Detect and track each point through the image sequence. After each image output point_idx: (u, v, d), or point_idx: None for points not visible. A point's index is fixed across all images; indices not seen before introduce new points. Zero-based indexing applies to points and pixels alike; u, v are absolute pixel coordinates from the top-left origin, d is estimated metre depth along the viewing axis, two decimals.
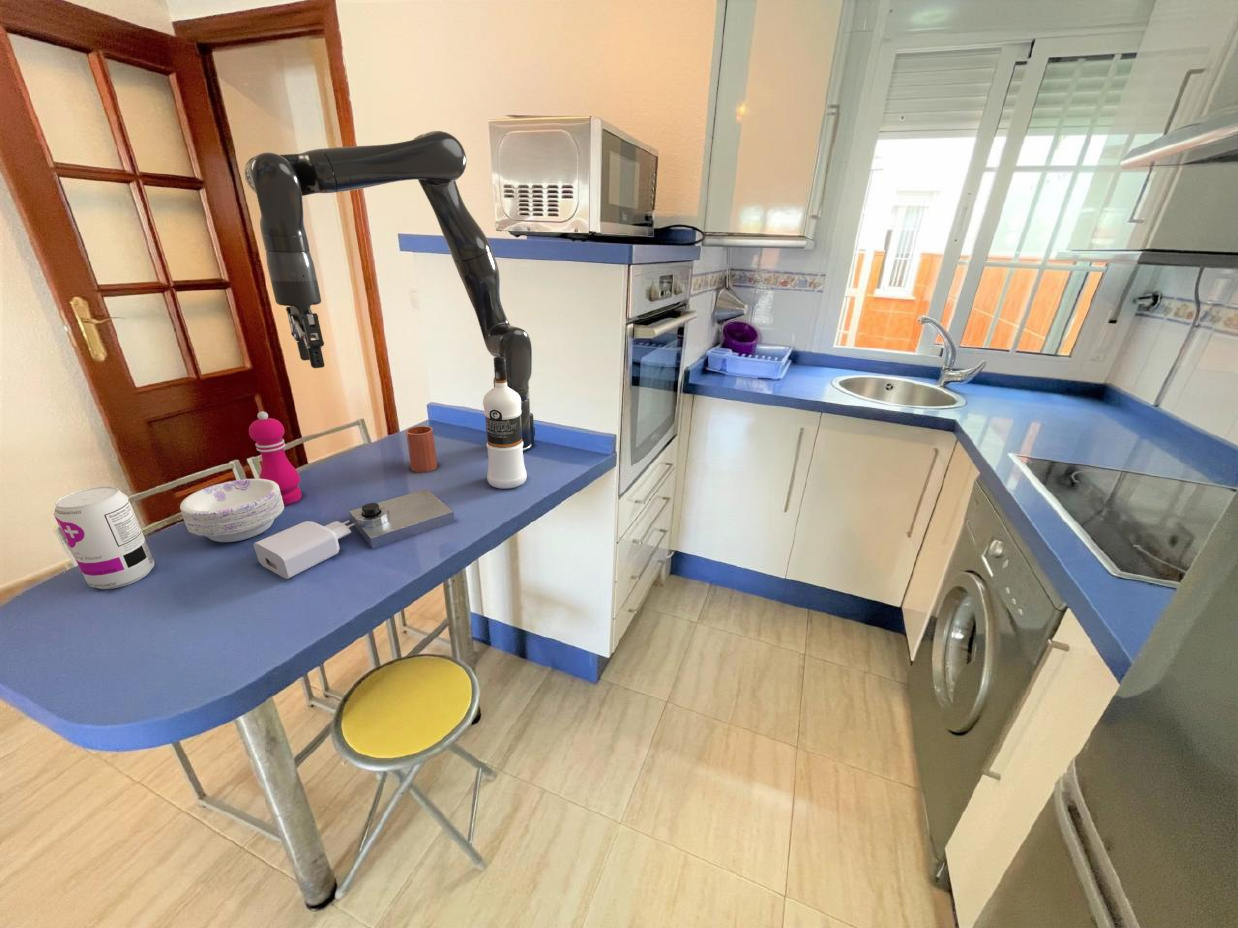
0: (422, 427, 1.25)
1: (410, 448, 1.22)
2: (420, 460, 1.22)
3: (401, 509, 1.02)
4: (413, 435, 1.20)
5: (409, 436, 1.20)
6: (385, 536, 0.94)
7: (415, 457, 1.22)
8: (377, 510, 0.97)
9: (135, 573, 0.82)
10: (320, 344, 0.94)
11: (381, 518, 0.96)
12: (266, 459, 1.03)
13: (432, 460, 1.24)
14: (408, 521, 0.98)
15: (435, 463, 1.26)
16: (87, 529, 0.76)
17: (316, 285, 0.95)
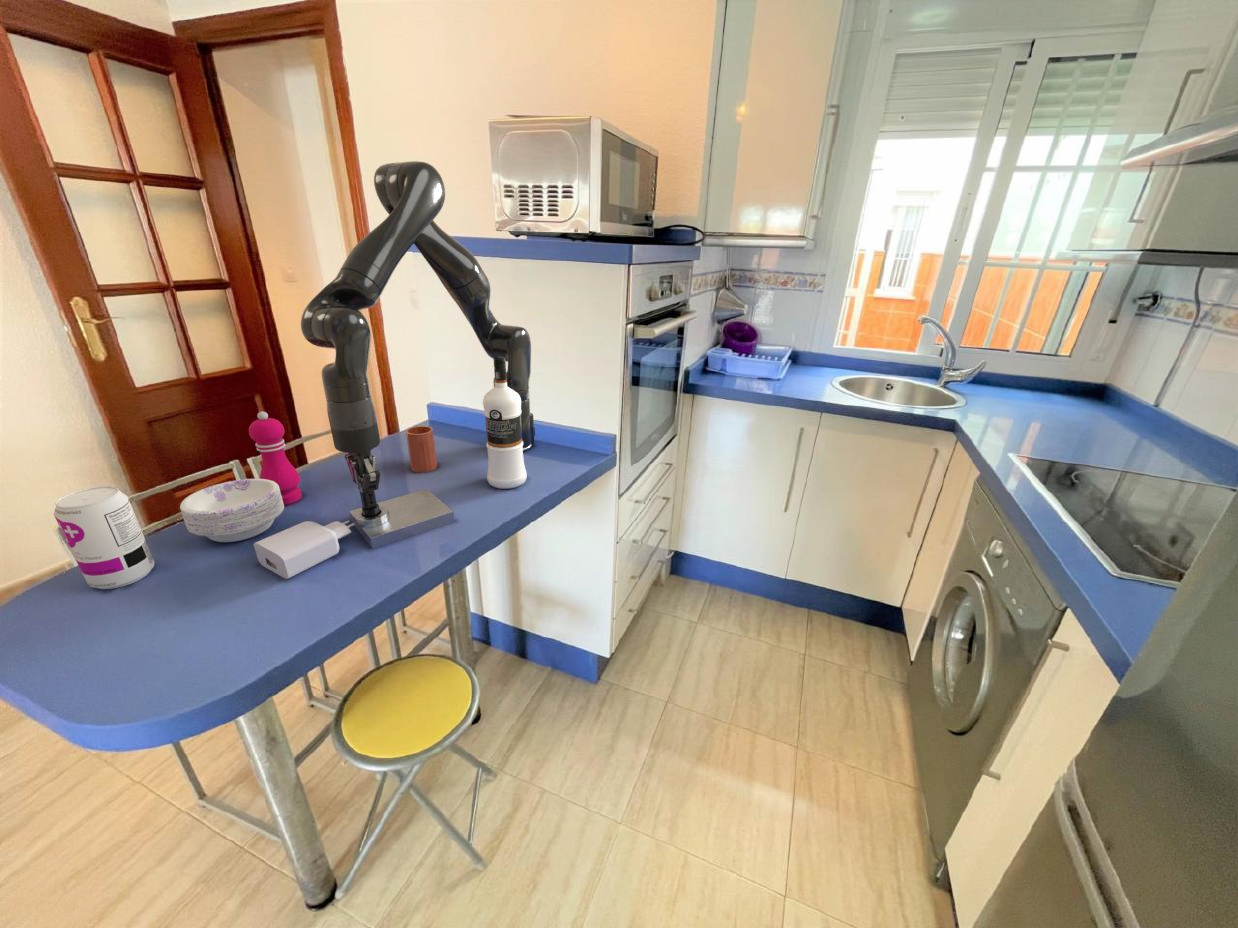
0: (422, 427, 1.25)
1: (410, 448, 1.22)
2: (420, 460, 1.22)
3: (401, 509, 1.02)
4: (413, 435, 1.20)
5: (409, 436, 1.20)
6: (385, 536, 0.94)
7: (415, 457, 1.22)
8: (377, 510, 0.97)
9: (135, 573, 0.82)
10: (374, 489, 0.93)
11: (381, 518, 0.96)
12: (266, 459, 1.03)
13: (432, 460, 1.24)
14: (408, 521, 0.98)
15: (435, 463, 1.26)
16: (87, 529, 0.76)
17: (376, 428, 0.91)
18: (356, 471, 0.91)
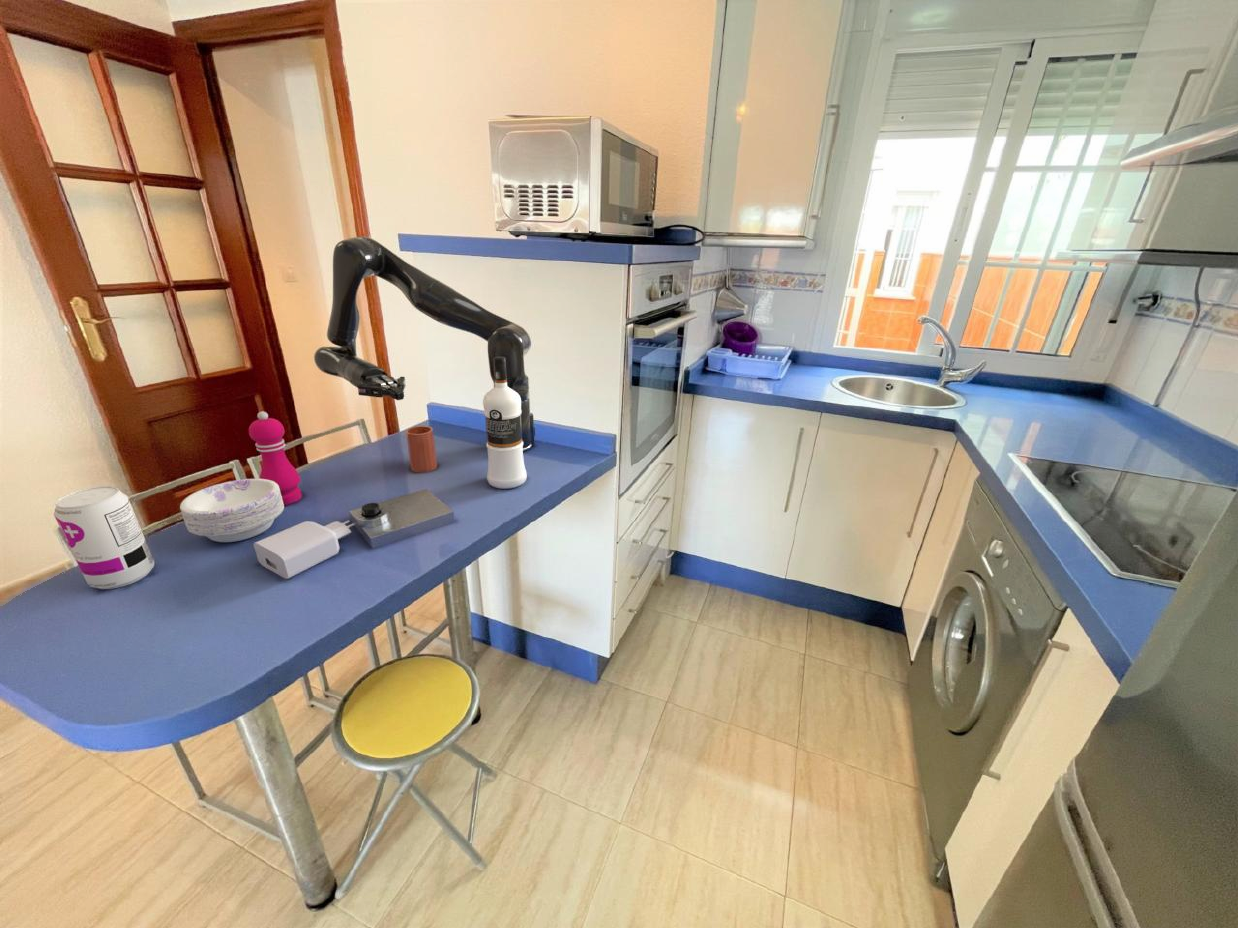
0: (422, 427, 1.25)
1: (410, 448, 1.22)
2: (420, 460, 1.22)
3: (401, 509, 1.02)
4: (413, 435, 1.20)
5: (409, 436, 1.20)
6: (385, 536, 0.94)
7: (415, 457, 1.22)
8: (377, 510, 0.97)
9: (135, 573, 0.82)
10: (378, 390, 1.24)
11: (381, 518, 0.96)
12: (266, 459, 1.03)
13: (432, 460, 1.24)
14: (408, 521, 0.98)
15: (435, 463, 1.26)
16: (87, 529, 0.76)
17: (358, 367, 1.29)
18: (376, 392, 1.28)
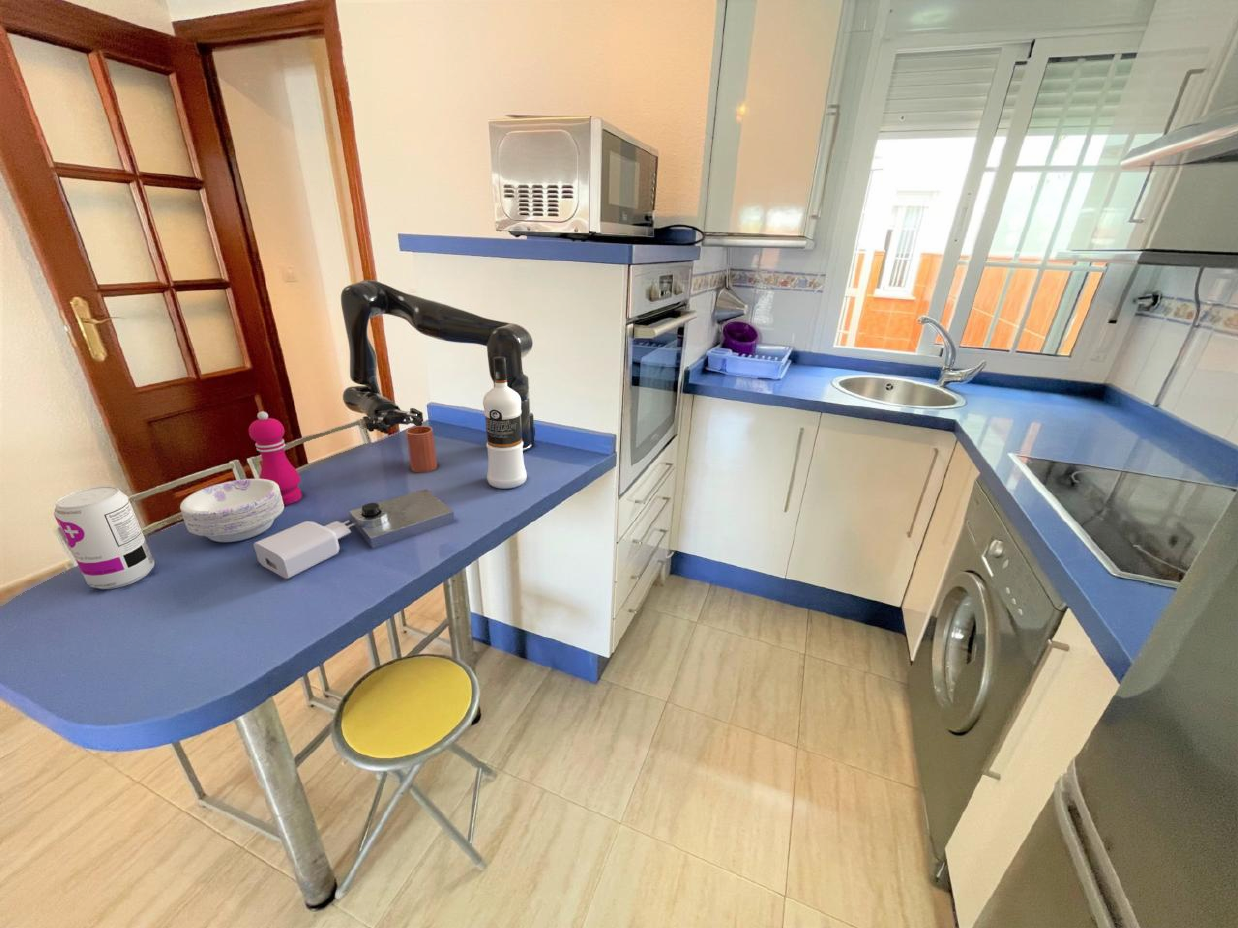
0: (422, 427, 1.25)
1: (410, 448, 1.22)
2: (420, 460, 1.22)
3: (401, 509, 1.02)
4: (413, 435, 1.20)
5: (409, 436, 1.20)
6: (385, 536, 0.94)
7: (415, 457, 1.22)
8: (377, 510, 0.97)
9: (135, 573, 0.82)
10: (368, 424, 1.29)
11: (381, 518, 0.96)
12: (266, 459, 1.03)
13: (432, 460, 1.24)
14: (408, 521, 0.98)
15: (435, 463, 1.26)
16: (87, 529, 0.76)
17: (373, 403, 1.38)
18: (387, 425, 1.35)
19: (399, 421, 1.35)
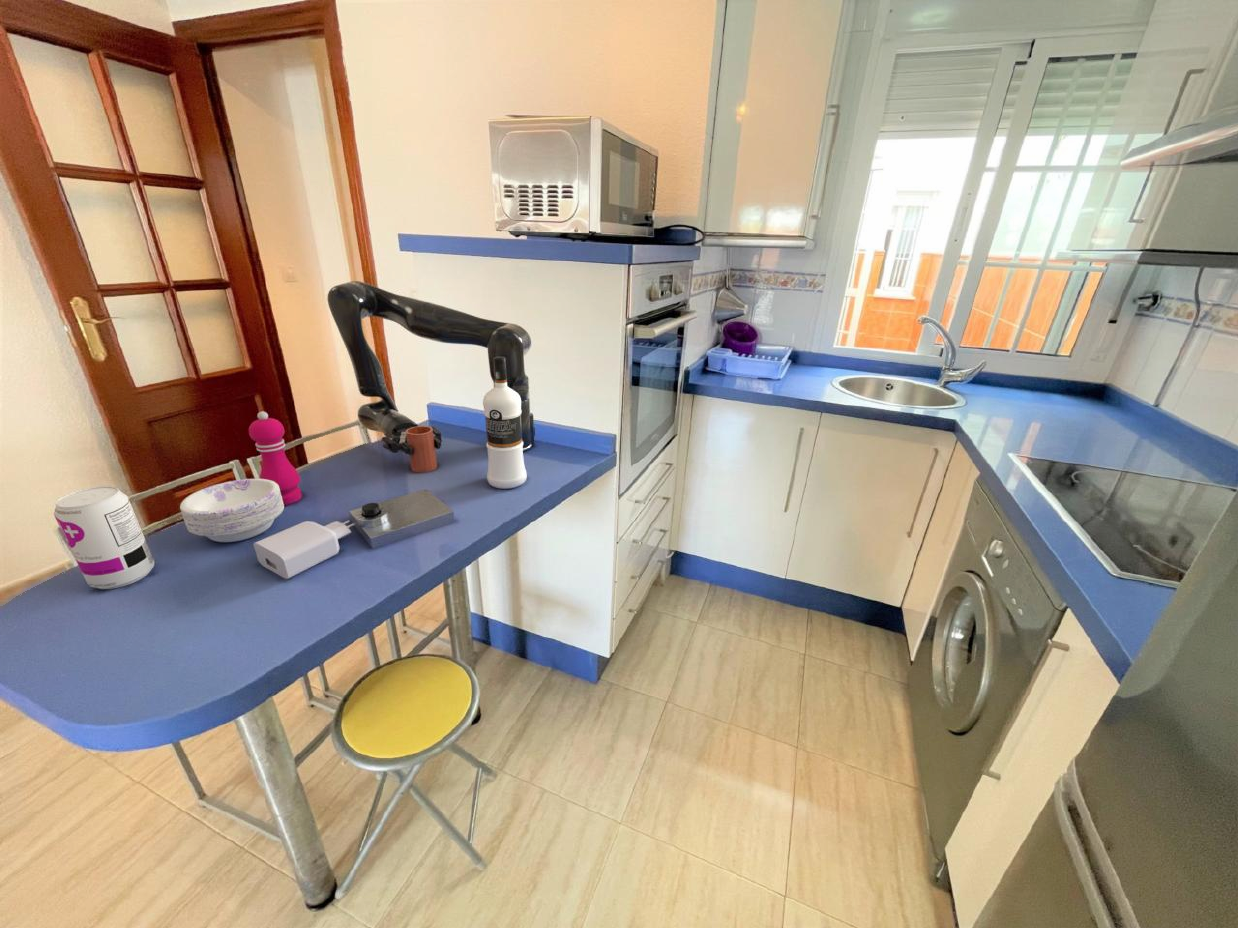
0: (422, 427, 1.25)
1: None
2: (420, 460, 1.22)
3: (401, 509, 1.02)
4: (413, 435, 1.20)
5: (409, 436, 1.20)
6: (385, 536, 0.94)
7: (415, 457, 1.22)
8: (377, 510, 0.97)
9: (135, 573, 0.82)
10: (392, 445, 1.21)
11: (381, 518, 0.96)
12: (266, 459, 1.03)
13: (432, 460, 1.24)
14: (408, 521, 0.98)
15: (435, 463, 1.26)
16: (87, 529, 0.76)
17: (391, 421, 1.30)
18: None
19: None
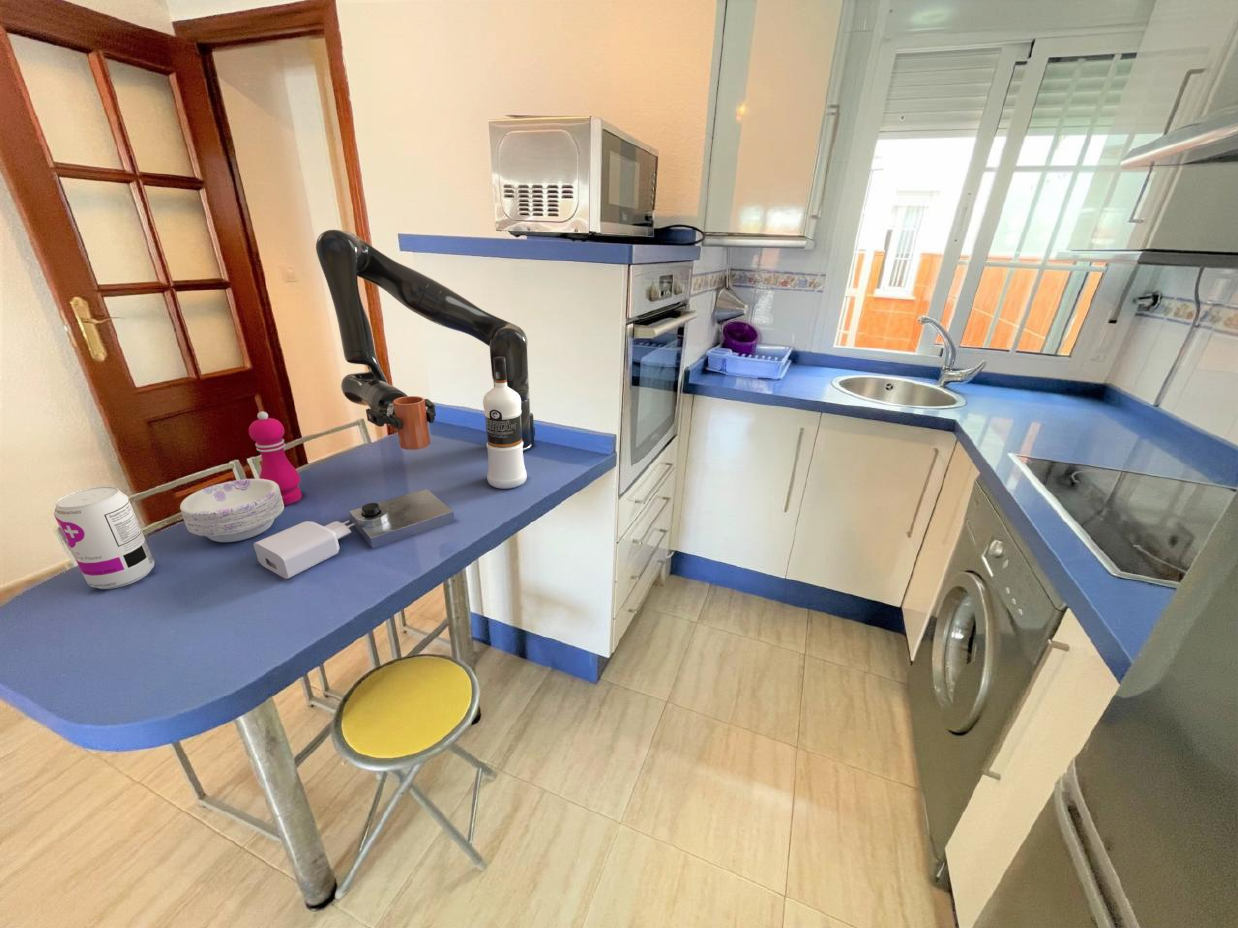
0: (412, 398, 1.08)
1: None
2: (409, 435, 1.05)
3: (401, 509, 1.02)
4: (402, 405, 1.02)
5: (397, 407, 1.03)
6: (385, 536, 0.94)
7: (404, 432, 1.05)
8: (377, 510, 0.97)
9: (135, 573, 0.82)
10: (377, 417, 1.04)
11: (381, 518, 0.96)
12: (266, 459, 1.03)
13: (424, 435, 1.07)
14: (408, 521, 0.98)
15: (428, 439, 1.08)
16: (87, 529, 0.76)
17: (378, 391, 1.13)
18: None
19: None
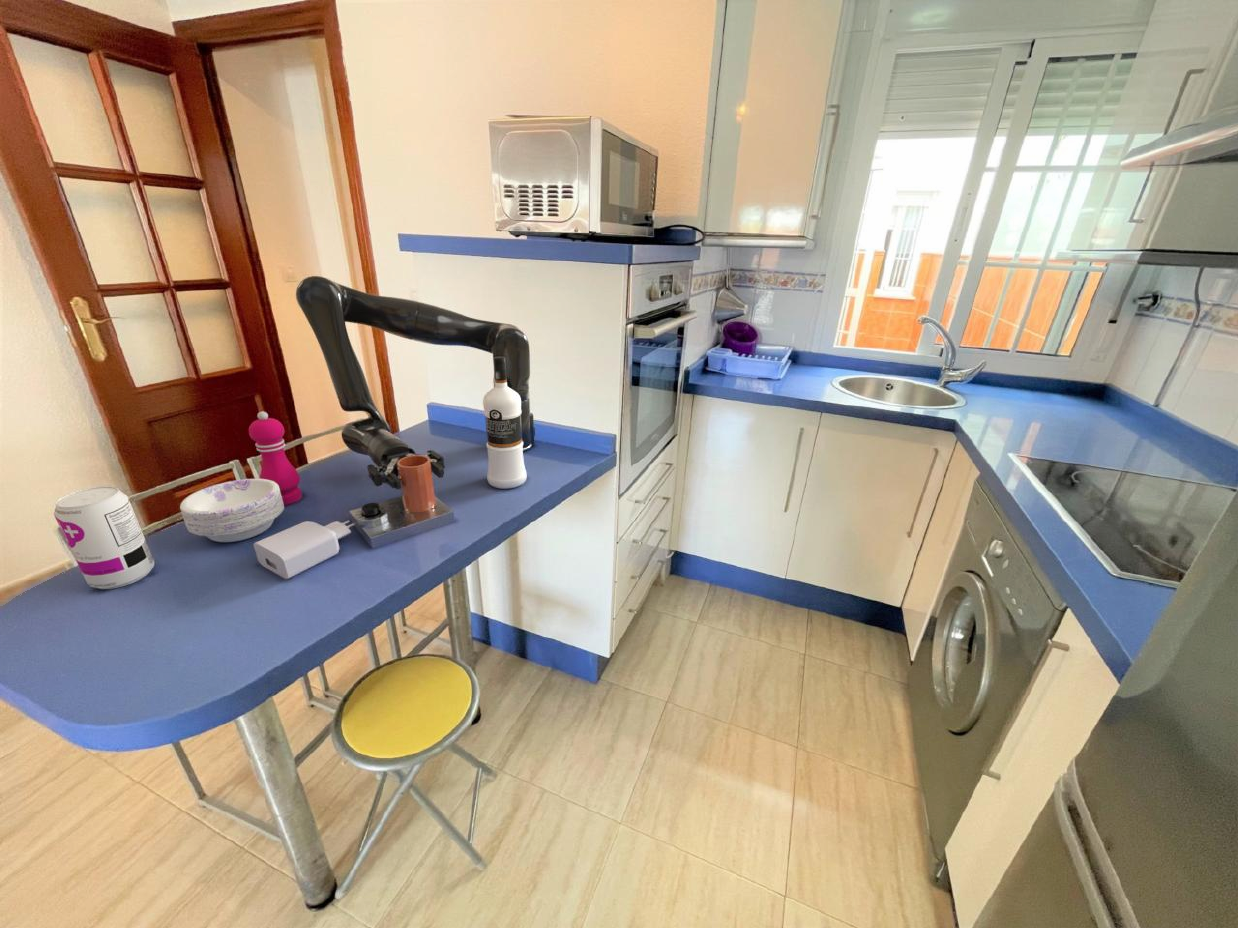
0: (417, 457, 1.02)
1: (402, 483, 0.99)
2: (414, 498, 1.00)
3: (401, 509, 1.02)
4: (406, 468, 0.97)
5: (401, 469, 0.97)
6: (385, 536, 0.94)
7: (408, 494, 0.99)
8: (377, 510, 0.97)
9: (135, 573, 0.82)
10: (374, 477, 0.98)
11: (381, 518, 0.96)
12: (266, 459, 1.03)
13: (429, 497, 1.01)
14: (408, 521, 0.98)
15: (433, 500, 1.03)
16: (87, 529, 0.76)
17: (380, 445, 1.07)
18: None
19: None
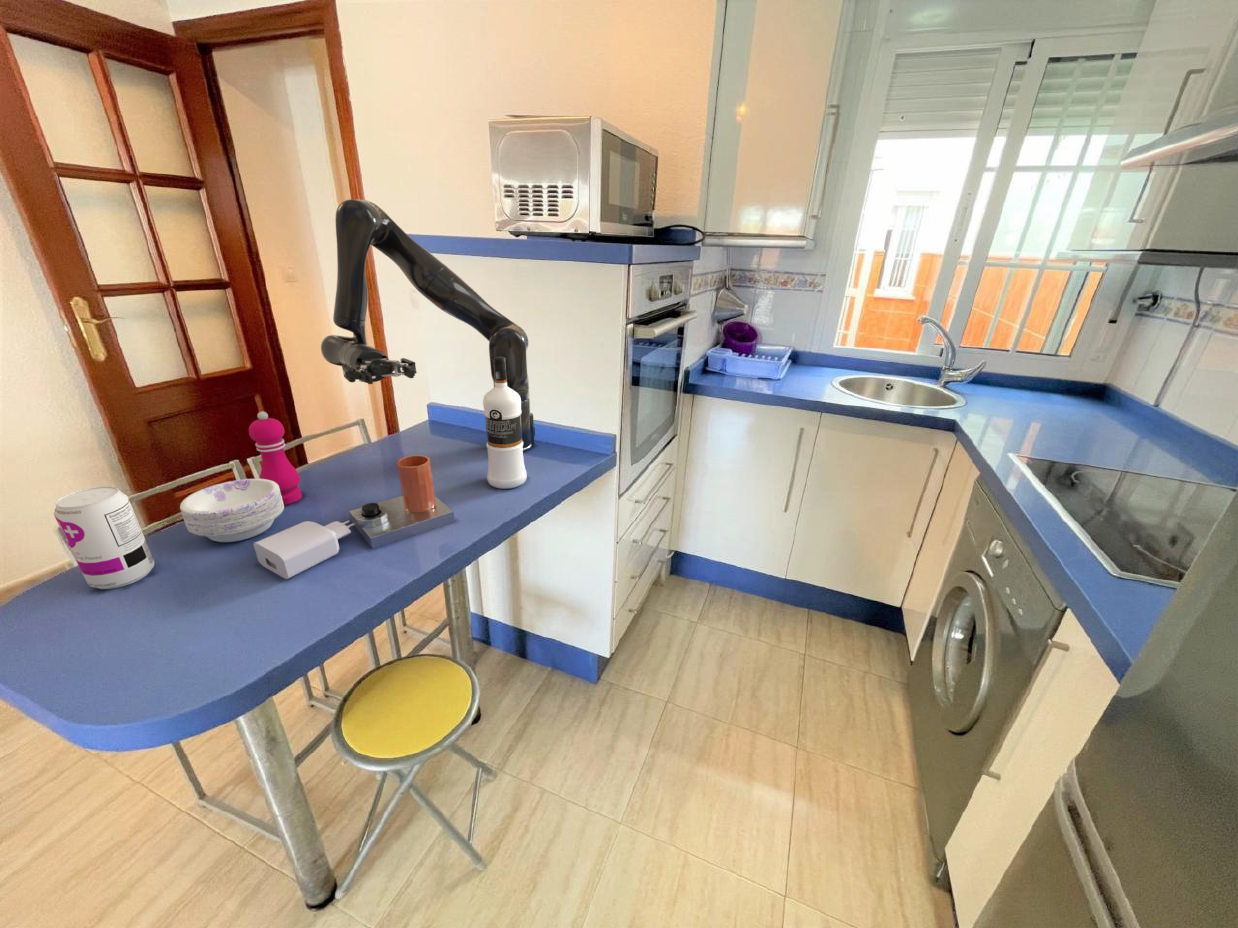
0: (417, 457, 1.02)
1: (402, 483, 0.99)
2: (414, 498, 1.00)
3: (401, 509, 1.02)
4: (406, 468, 0.97)
5: (401, 469, 0.97)
6: (385, 536, 0.94)
7: (408, 494, 0.99)
8: (377, 510, 0.97)
9: (135, 573, 0.82)
10: (348, 373, 1.05)
11: (381, 518, 0.96)
12: (266, 459, 1.03)
13: (429, 497, 1.01)
14: (408, 521, 0.98)
15: (433, 500, 1.03)
16: (87, 529, 0.76)
17: (356, 351, 1.14)
18: (372, 377, 1.11)
19: (387, 372, 1.11)
